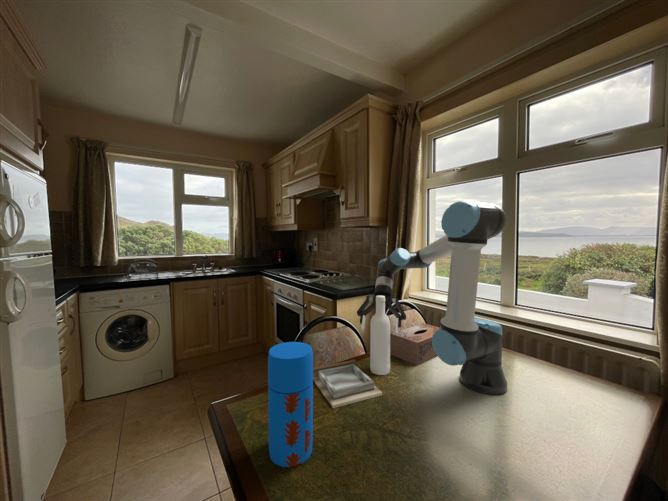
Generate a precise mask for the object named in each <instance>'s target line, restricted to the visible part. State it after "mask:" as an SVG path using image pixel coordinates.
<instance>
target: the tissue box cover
mask: <svg viewBox="0 0 668 501" xmlns="http://www.w3.org/2000/svg"><path fill="white" fill-rule="evenodd" d="M437 330H440V326H439V327H438V326H435V325H432V324H428V323H424V322H423V323H420V324H419V323H418V324H416V325H413V326H410V327H407V328H404V329H400V330H398V336H396V331H393V332H390V356H393V357H395V358H398V359H400V360H402V361H405V362H407V363H410V364H411V365H414V366H417V367H418V366H420V365H423V364H424V363H426V362H428V361H431V360H433V359H435V358H437V357H438V356H437V354H436V352H435V351H434V349H433V346H432V336H433V334H434V333H435V332H436V331H437Z"/></svg>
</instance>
